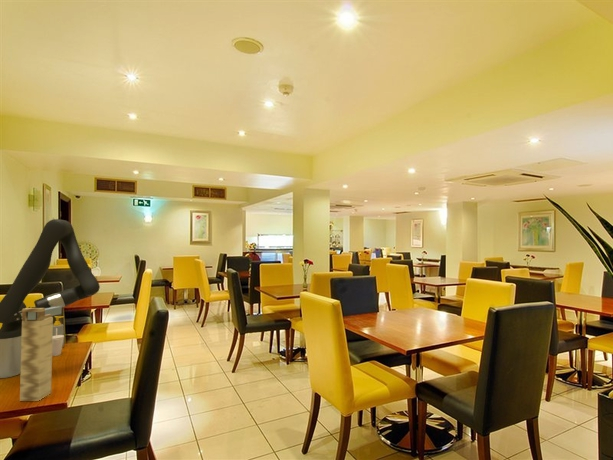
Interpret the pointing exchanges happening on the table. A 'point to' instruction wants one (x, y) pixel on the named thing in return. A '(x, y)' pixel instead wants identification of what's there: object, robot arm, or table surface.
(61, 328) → the soap bottle
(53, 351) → the smoothie
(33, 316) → the bar
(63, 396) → the table surface
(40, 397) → the tall patterned tan block
